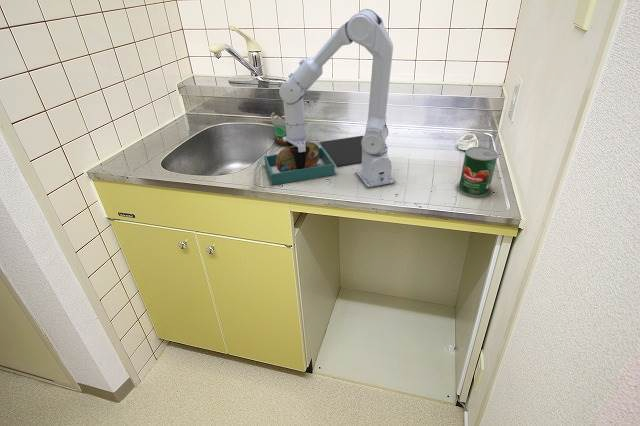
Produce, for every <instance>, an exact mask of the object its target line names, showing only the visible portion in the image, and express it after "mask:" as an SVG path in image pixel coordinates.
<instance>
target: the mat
mask: <svg viewBox="0 0 640 426" xmlns="http://www.w3.org/2000/svg"><path fill="white" fill-rule="evenodd" d="M363 136H364V135H358V136H351V137H345V138H344V137H343V138H338V139H331V140H325V141H320V144H321V147H323V149H324V150H325V152H326V153H327V155H328V156H329V157H330V159H331V160H332V162H333V163H334V165H335V166H336V167H337V168H340V167H344V166H345V167H346V166H351V165H356V164H357V165H358V164H362V145H361V141H362V138H363Z"/></svg>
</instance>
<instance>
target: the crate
mask: <svg viewBox="0 0 640 426" xmlns="http://www.w3.org/2000/svg"><path fill="white" fill-rule="evenodd" d="M319 149H320V158H319V159H322V161H323V163H324V164H323V165H315V166H314V167H309V168H303V169H297V170H291V171H285V172H280V171H278V172H274V173H273V171H272V169H271V167H273V166H276V157H277V155H278V153H277V154H269V155H264V165H265V169H266V171H267V174H268V177H269V181H270V183H271V186H276V185H281V184H282V185H283V184H287V183H294V182H299V181H306V180H311V179H317V178H323V177H328V176H333V175H334V176H335V173H336V172H335V171H336V169H335V162H334V161H333V160H332V158H331V157H330V155H329V154H328V153H327V151H326V150H325V148H324V147H323V146H321V147H319Z"/></svg>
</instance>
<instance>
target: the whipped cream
mask: <svg viewBox="0 0 640 426" xmlns="http://www.w3.org/2000/svg"><path fill="white" fill-rule="evenodd" d="M457 143H458V144H457V148H458V150H461V151H466V150H467V149H468V148H471V147H480V146H479V140H478V138H477V136H476V135H475V134H473V133H468V134H465V135H462V136H461V137H460V139H458V142H457Z"/></svg>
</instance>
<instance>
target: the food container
mask: <svg viewBox="0 0 640 426" xmlns="http://www.w3.org/2000/svg"><path fill="white" fill-rule="evenodd" d="M270 123H271V124H272V125H273V131H274V135H275V139H276V143H277V144H278V145H279V146H282V147H289V146H288V144H287V143H286V141H283V137H286V136H287V135H286V124H285V114H283V115H282V114H281V115H280V114H276V113H275V111H274V112H273V111H272V113H271V114H270Z"/></svg>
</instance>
